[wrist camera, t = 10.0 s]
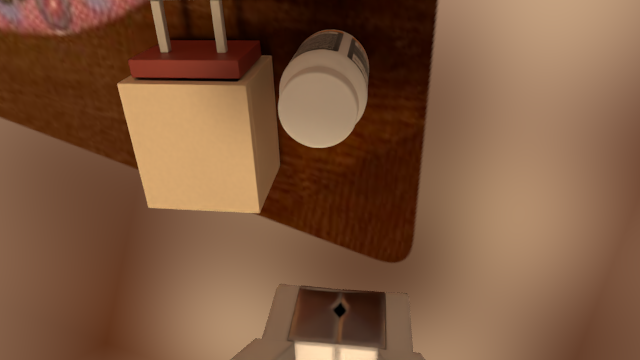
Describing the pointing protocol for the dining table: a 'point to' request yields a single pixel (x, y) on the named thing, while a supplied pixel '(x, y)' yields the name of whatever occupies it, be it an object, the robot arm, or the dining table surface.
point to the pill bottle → (324, 89)
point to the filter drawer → (195, 53)
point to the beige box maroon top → (205, 139)
